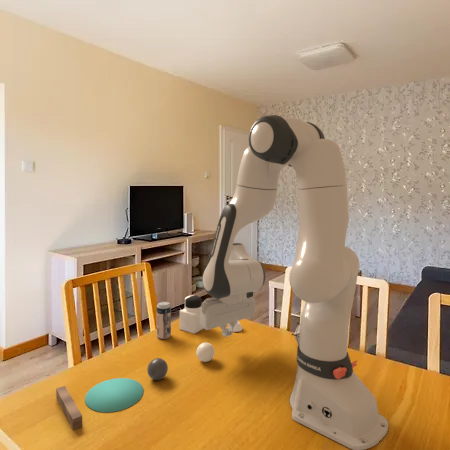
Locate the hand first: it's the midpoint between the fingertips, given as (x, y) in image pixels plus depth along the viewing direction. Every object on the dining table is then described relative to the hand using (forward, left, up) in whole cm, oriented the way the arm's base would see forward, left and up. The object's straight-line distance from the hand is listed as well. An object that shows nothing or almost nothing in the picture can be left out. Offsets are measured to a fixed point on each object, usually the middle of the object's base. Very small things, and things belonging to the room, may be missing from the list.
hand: (227, 335), depth 111 cm
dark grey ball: (-1, +25, -3) cm, 25 cm away
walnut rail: (-1, +48, -5) cm, 48 cm away
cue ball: (-1, +9, -3) cm, 9 cm away
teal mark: (-1, +37, -5) cm, 37 cm away
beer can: (+21, +11, -6) cm, 25 cm away
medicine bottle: (+21, -1, -6) cm, 22 cm away
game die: (-13, -23, -6) cm, 27 cm away
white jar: (+11, -13, -6) cm, 18 cm away
